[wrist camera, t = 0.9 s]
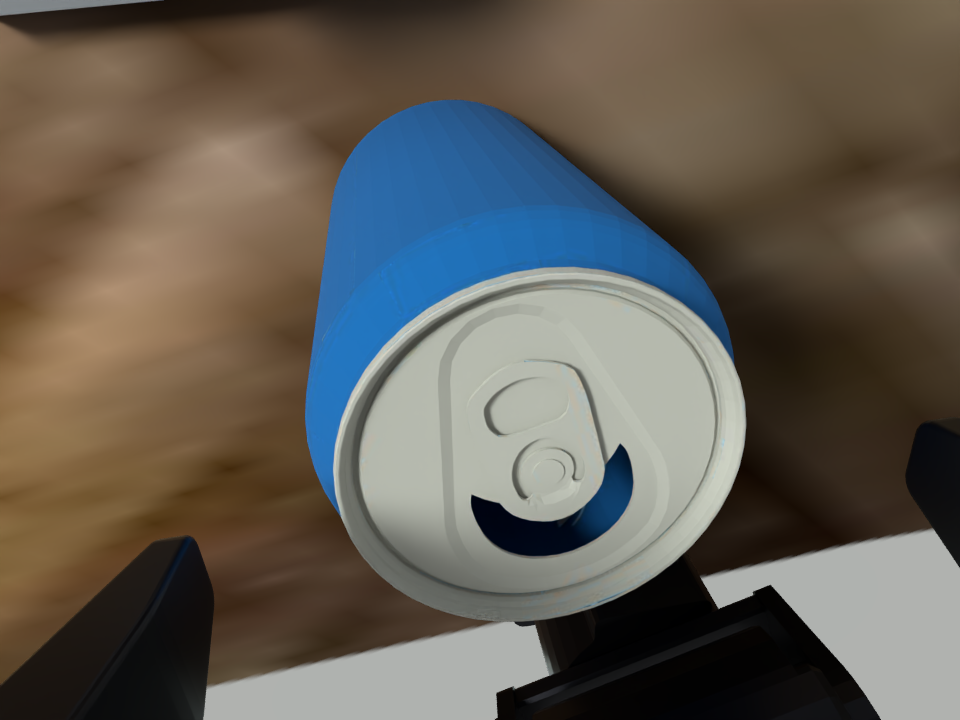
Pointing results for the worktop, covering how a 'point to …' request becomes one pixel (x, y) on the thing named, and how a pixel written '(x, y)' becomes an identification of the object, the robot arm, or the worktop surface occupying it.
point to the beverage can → (511, 374)
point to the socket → (55, 5)
